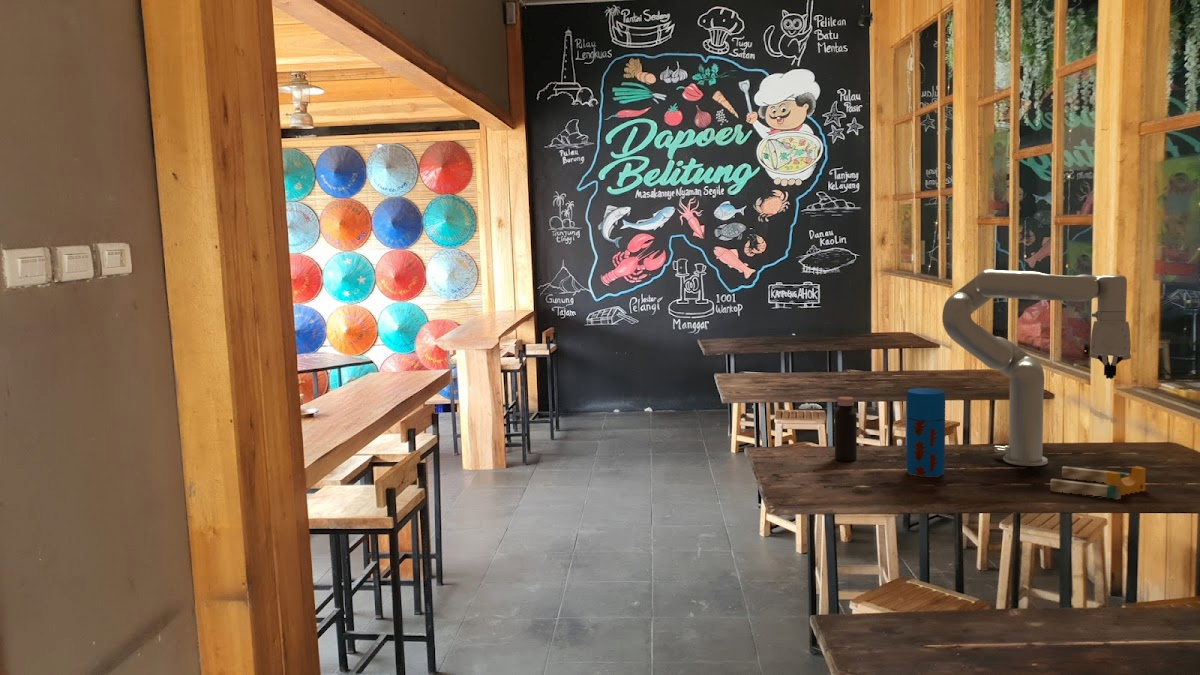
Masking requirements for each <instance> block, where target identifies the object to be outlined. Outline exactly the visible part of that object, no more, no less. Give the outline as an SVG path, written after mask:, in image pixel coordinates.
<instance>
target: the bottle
mask: <svg viewBox="0 0 1200 675" xmlns="http://www.w3.org/2000/svg"><path fill="white" fill-rule="evenodd" d="M854 403H855V402H854V397H852V396H838V397H837V407H838V409H837V410H836V411H835V412H834V458H835V460H836V459H837V460H836V461H839V460H840V461H839V462H853V461H852V460H854V461H856V460H857V459H858V458H857V457H858V455H857V454H858V453H857V452H858V451H857V450H858V448H857V446H858V444H857V440H858V438H857V435H858V434H857V433H858V432H857V431H858V430H857V426H858V425H857V424H858V422H857V415H858V414H857V413H856V411H855V410H854V409H853V407H854Z"/></svg>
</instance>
